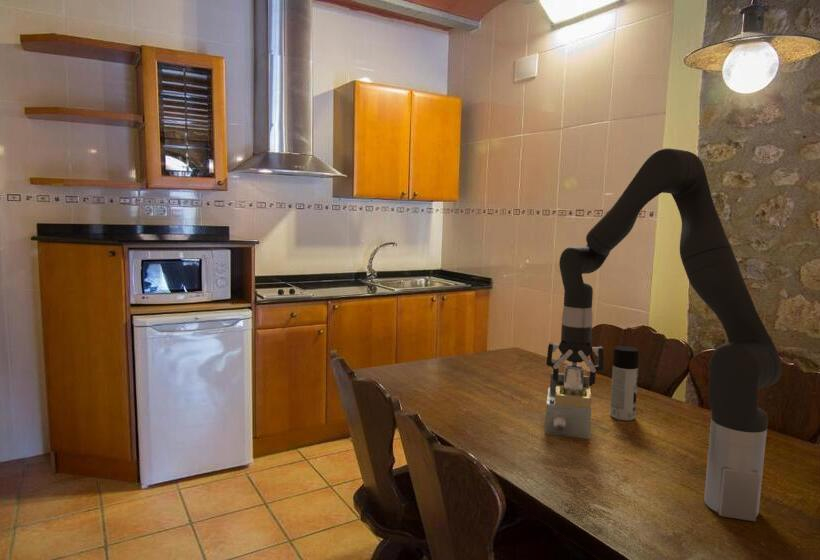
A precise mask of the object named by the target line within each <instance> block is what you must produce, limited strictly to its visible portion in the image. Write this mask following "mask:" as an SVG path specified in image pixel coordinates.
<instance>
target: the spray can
mask: <svg viewBox="0 0 820 560" xmlns="http://www.w3.org/2000/svg"><path fill="white" fill-rule="evenodd" d="M639 359H640V350H639V349H638V348H637V347H634V346H626V345H617V346H614V348H613V359H612V372H611V373H612V375H611V389H610V390H611V391H610V392H611V394H610V410H609V412H610V413H609V414H610V416H611V418H614V419H615V420H620V421H623V422H624V421H626V422H627V421H628V422H630V421H633V420H635V417H636V409H637V393H638V378H639Z"/></svg>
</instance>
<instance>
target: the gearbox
mask: <svg viewBox="0 0 820 560" xmlns="http://www.w3.org/2000/svg"><path fill="white" fill-rule="evenodd" d="M549 383H550V384H549V385H550V386H549V387H548V389H547V398H546V407H545V408H546V410H545V427H544V429H545V430H544V431H545V432H544V434H545V435H546V434H547V435H552V436H553V435H554V436H561V437H562V436H563V437H571V438H577V439H587V440H590V437H591V436H590V435H591V420H592V419H591V418H592V417H591V416H592V394H591V388H590V387H589V375H583V396H574V395H564V373H560V372H558V383H555V380H553V372H550V382H549Z"/></svg>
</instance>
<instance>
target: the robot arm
mask: <svg viewBox="0 0 820 560" xmlns="http://www.w3.org/2000/svg"><path fill="white" fill-rule="evenodd" d="M662 193H664V194H671V196H672V198H673V200H674V202H675V205H676V206H677V210H678V213H679V216H680V218H681V219H680V220H681V230H680V232H681V233H680V239H679V255H680V259H681V262H682V265H683V268H684V272H685V274H686V276H687V280H688V281H689V283H690V286H691V287H692V289H693V290H694V291H695V293H696V294H697V296H699V297H700V299H702V301H703V303H705V304H706V305H707V307H709V308H710V309H711V311H712V312H713V313H714V314H715V316H716V317H717V318H718V319H719V322H720V323H721V325H722V327H723V329H724V333H725V335H726V337H727V341H728V342H726V343H723V344H721V345H719V346H717V347H716V348H715V349H714V350H713V353H712V354H711V357H710V361H709V368H708V389H707V390H708V391H707V392H708V393H707V396H708V405H709V407H710V410H711V417H710V418H711V419H710V429H709V439H708V450H707V451H708V452H707V463H706V471H705V472H706V473H705V485H704V498H703V501H704V504H705V505H706V506H707V507H708V508H709V509H711V510H712V511H713V512H715V513H717V514H718V516H720V517H724V518H730V519H731V518H732V519H737V520H743V521H750V522H757V517H759V515H760V514H759V511H760V502H761V493H762V483H763V474H764V472H763V470H764V463H765V453H766V452H765V451H766V443H767V442H766V441H767V434H768V425H769V416H768V413H767V412H766V411H765V410H763V409H762V408H760V407H758V397H759V396H758V393H759V392H758V391H759V389H763V388H766V387H770V386H773V385H774V384H775V383H776V382H778V381H779V380H780V377H781V375H782V372H783V366H782V365H783V364H782V359H781V357H780V353H779V351H778V349H777V348H776V346H775V344H774V342H773V340H772V338H771V335H769V332H768V330H767V328H766V327H765V324H764V323H763V322H762V320H761V317H760V316H759V313H758V311H757V309H756V307H755V303H754V301H753V299H752V297H751V293H750V291H749V289H748V287H747V284H746V282H745V280H744V278H743V277H744V276H743V275H742V272H741V269H740V266H739V263H738V261H737V258H736V255H735V252H734V250H733V248H732V245H731V243H730V241H729V239H728V237H727V234H726V232H725V229H724V227H723V224H722V221H721V219H720V216H719V214H718V211H717V209H716V206H715V203H714V200H713V197H712V193H711V188H710V185H709V181H708V176H707V173H706V169H705V166H704V163H703V161H702V160H701V158H700V157H699V156H698V155H697V154H695V153H693V152H691V151H689V150H683V149H678V148H676V149H675V148H667V147H665V148H661V149H657V150H655V151H654V152H653V153H651V154H650V155H649V156H648V158H646V160H645V161H644V162H643V164H642V165H641V166H640V168H639V169H638V171H637V172H636V174H635V175H634V176H633V178H632V180H631V181H630V182H629V183H628V185H627V187H626V188H625V190H624V191H623V192H622V194H621V195H620V196H619V197H618V199H617V201H616V202H615V203H614V205H613V206H612V207H611V208H610V209H609V210H608V211H607V213H606V214H604V216H603V217H601V218H600V220H599V221H597V223H596V224H595V225H594V226H592V228H591V229H590V230H589V232H587V234H586V237H585V241H586V245H584V246H569V247H567V248H565V249H564V250H563V251H562V252H561V254H560V257H559V262H558V263H559V272H560V276H561V281H562V285H563V290H564V293H563V307H562V308H563V309H562V315H561V333H560V334H561V335H560V342H559V344H558V343H553V341H550V342H548V344H547V345H548V347H547V354H546V363H545V364H546V366H548V367H550V368H552V369H553V370H552V373H553V380H555V383H558V373H560V372H559V367H560V366H561V365H562V364H564V362H566V361H568V362H570V363H572V362H573V361H575V362H577V363H580V364H581V363H582V362H584V364H585V365H586V366H587V367H588V369H589V375H588V376H589V381H588V387H593V385H594V384H596V375H597V372H602V371H604V370H605V369H604V359H605V357H604V348H603V346H601V345H600V346H592V331H593V299H594V298H593V295H594V289H593V287H592V285H590V284H588V283H585V282H584V279H583V274H587V275H588V274H592V273H594V272H596V271H597V270H599V269H600V268H601V267H602V265H603V264H604V263H605V261H606V260H607V258H608V257H609V255H610V253H611V252H612V250H614V249H615V247H617V246H618V245H619V244H620V243H621V242H622V241H623V240H624V239H625V238H626V237H627V236H628V235H629V234H630V232H631V231H632V230H633V228H634V226H635V223H636V221H637V218H638V216H639V214H640V212H641V211H642V210H643V208H644V207H646V205H647V204H648V203H650V202H651V201H652V200H653V199H655V197H657V196H659V195H660V194H662ZM557 350H559V352H560V353H561V354H560V355H559V356H558V358H557V359H556V360H555V361H553V360H552V359H553V353H555V352H556V351H557ZM591 353H594V354H595V356H597V364H596V365H595V364H594V363H593V361H592V359H591V358H590V357H589V356H590V355H591Z"/></svg>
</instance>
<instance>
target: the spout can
mask: <svg viewBox="0 0 820 560" xmlns="http://www.w3.org/2000/svg"><path fill="white" fill-rule="evenodd" d="M584 372H585V368H584V367H583V365H581V364H578V362H575V361H573V362H571V363H567V364H566V365H564V373H563V374H564V395H574V396H583V376H585V375H584Z"/></svg>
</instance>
